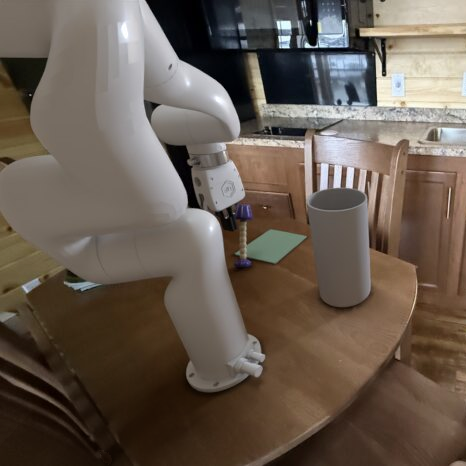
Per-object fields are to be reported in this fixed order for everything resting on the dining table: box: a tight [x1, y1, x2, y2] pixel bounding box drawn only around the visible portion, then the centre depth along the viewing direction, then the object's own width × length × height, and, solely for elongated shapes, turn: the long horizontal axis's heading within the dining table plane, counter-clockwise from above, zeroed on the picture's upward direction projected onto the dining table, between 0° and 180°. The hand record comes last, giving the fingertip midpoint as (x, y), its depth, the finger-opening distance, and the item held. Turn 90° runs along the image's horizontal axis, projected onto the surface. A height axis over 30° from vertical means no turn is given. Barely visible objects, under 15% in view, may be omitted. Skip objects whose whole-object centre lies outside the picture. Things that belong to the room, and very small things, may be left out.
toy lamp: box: [233, 203, 254, 268], centre depth 85 cm, size 5×5×17 cm
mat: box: [234, 228, 308, 265], centre depth 96 cm, size 14×16×1 cm
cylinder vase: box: [306, 187, 372, 308], centre depth 72 cm, size 12×12×25 cm
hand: (230, 229), depth 80 cm, fingers closed
